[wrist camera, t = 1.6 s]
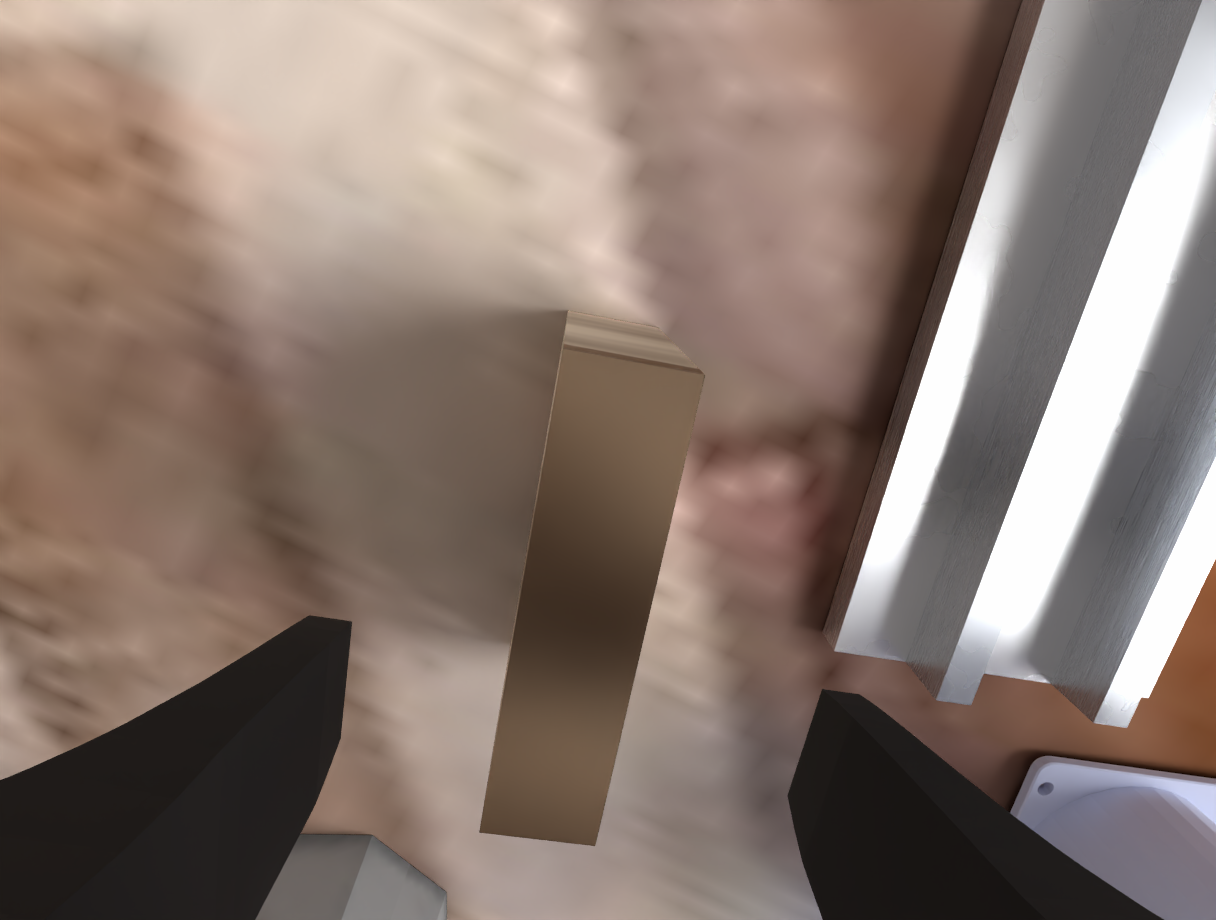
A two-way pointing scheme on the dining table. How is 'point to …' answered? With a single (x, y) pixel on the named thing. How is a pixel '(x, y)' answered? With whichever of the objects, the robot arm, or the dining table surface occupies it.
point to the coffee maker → (351, 883)
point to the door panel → (589, 574)
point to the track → (1059, 378)
